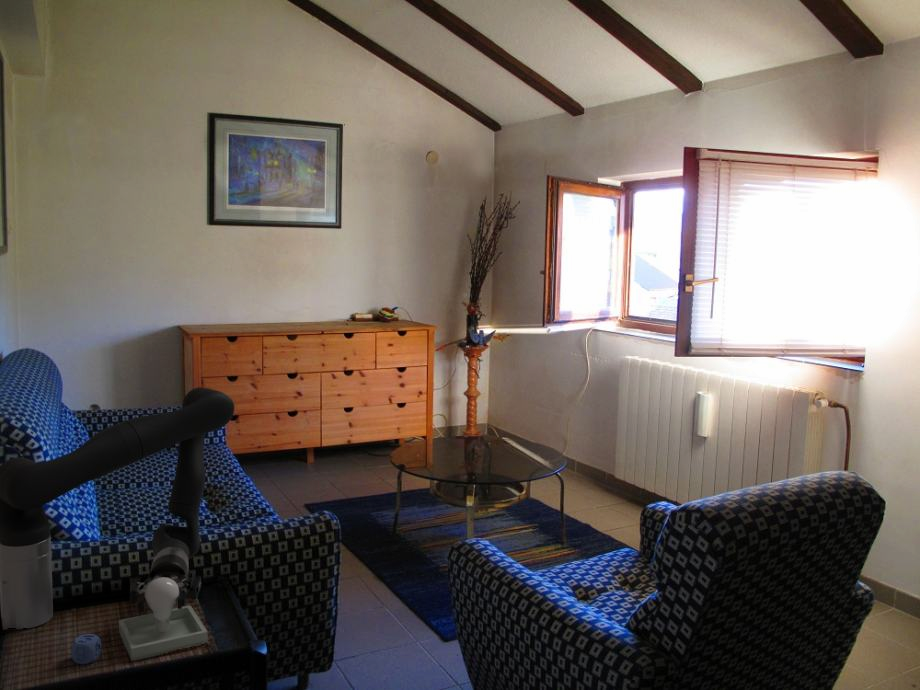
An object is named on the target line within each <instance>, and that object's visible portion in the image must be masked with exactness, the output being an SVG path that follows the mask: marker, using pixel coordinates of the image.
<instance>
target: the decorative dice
mask: <svg viewBox="0 0 920 690" xmlns="http://www.w3.org/2000/svg"><path fill="white" fill-rule="evenodd" d="M71 646H72V647H71V651H70V652H71V653H70V654H71V658H72V660H73V662H75V663H76V664H79V665H88V664H92V663H94V662H96V661H97V660H98V659H99V657H100V655H101V650H102V641H101V638H100V637H99V636H98V635H96V634H93V633H86V634H80V636H77V637H76V638H75V639H74V640H73V642H72V645H71Z"/></svg>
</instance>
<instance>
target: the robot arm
mask: <svg viewBox="0 0 920 690" xmlns="http://www.w3.org/2000/svg"><path fill="white" fill-rule="evenodd" d="M182 400H183V401H182V404H181V408H179V409H176V410H172V411H168V412H161V413H155V414H148V415H143V416H137V417H133V418H129V419H127V420H124V421H121V422H119V423H116V424H114V425H111V426H108V427H105V428H103V429H102V430H99V431H98V432H96V433H95V434H93V436H91V437H90V438H88V439H87V440H86V441H85V442H84V443H83V444H82V445H81V446H79V447H78V448H76V449H75V450H73V451H71V452H69V453H66V454H64V455H62V456H59V457H56V458H52V459H49V460H46V461H43V462H39V463H38V462H36V461H34V460H32V459H30V458H26V457H12V458H10V459H8V460H5V461H3V462H2V463H1V464H0V616H1V617H0V618H1V619H2V620H1V625H2V630H3V631H5V630H6V631H7V630H9V629H8V628H16V629H15V630H24V629H23V628H27V629H33V628H35V627H38V626H39V627H40V626H41V625H44V624H45V623H48V622H49V621H50V620H52V618H53V616H54V603H53V598H54V597H53V573H52V571H53V570H52V544H51V543H52V542H51V541H52V540H51V539H52V538H51V524H50V523H51V522H50V521H49V519H48V517H47V515H46V513H45V510H44V507H43V506H46V504H49V503H50V502H53V501H54V500H57V498H60V497H61V496H63V495H65V494H67V493H69V492H71V491H72V490H74V489H77V488H78V487H81V486H82V485H84V484H86V483H89V482H91V481H94V480H96V479H98V478H99V479H100V478H101V477H103V476H106V475H109V474H111V473H114V472H115V471H118V470H120V469H123V468H126V467H128V466H130V465H133V464H134V463H135V464H136V463H137V462H140V461H142V460H144V459H146V458H148V457H150V456H153V455H154V454H156V453H159V452H162V451H163V450H166V449H168V448H170V447H172V446H175V445H177V444H178V450H177V451H178V452H177V461H176V469H175V473H174V474H175V475H174V478H173V483H172V486H171V487H172V488H171V492H170V496H169V502H168V506H167V511H168V513H169V514H171V515H172V516H175V517H178V518H180V519H182V520H184V521H185V522H186V524H187V527H186V526H180V525H173V524H162V525H160V526H158V527H157V528H156V529H155V531H154V532H153V535H152V539H151V548H152V547H153V549H152V552H153V555H154V556H155V558H154V559H153V560H152V563H151V567H150V570H149V573H148V577H147V578H146V579H145V580H144V581H143V582H140V581H138V580H137V579H131V580H130V581H129V583H130V584H129V602H130V604H133V605H135V604H136V609H137V610H139V612H140V613H142V612H143V613H144V612H145V611H146V606H147V603H146V601H145V591H146V588H147V586H148V585H149V584H150V583H151V582H152V581H153V580H155V579H157V578H161V577H167V578H170V579H172V580H174V581H175V582H176V584H177V585H178V588H179V595H178V600H177V608H178V609H182V607H185V606H187V601H188V599H190V600H196V599H197V598H198V596H199V593H200V591H201V589H202V576H201V575H195V576H194V578H191V579H188V575H189V561H190V559H192V558H193V557H194V556H196V554H197V553H198V551H199V549H200V546H201V544H200V543H201V538H200V537H201V536H200V525H199V521H200V520H199V517H200V511H201V510H200V509H201V504H202V499H203V495H204V490H205V484H206V472H205V471H206V468H205V461H204V460H205V459H204V442H205V437H206V434H209V433H211V432H215V431H218V430H221V429H222V428H223V427H225V426H226V425H228V424H229V422H230V421H231V420H232V418H233V416H234V413H235V404H234V401H233V400H232V398H231V397H230V395H228V394H226V393H224V392H221V391H219V390H216V389H213V388H208V387H201V386H199V387H194V388H192V389H191V390H190V391H188V392H187V393H186V395H185V396H184V398H183V399H182ZM188 586H189V588H187V587H188Z"/></svg>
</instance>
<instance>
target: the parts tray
mask: <svg viewBox="0 0 920 690" xmlns="http://www.w3.org/2000/svg"><path fill="white" fill-rule="evenodd" d="M155 623H156V622H155V617H154V615H153V612H151V613H146V614H142V615H137V616H132V617H128V618H122V619H118V633H119V635H120V638H121V639H122V640H121V641H123V644H124V647H125V649H126V652H127V653H128V656H129V658H130V660H131V662H135V661H139V660H143V659H144V660H145V659H147V658H148V659H149V658H153V657H157V656H161V655H164V654H163V653H166V654H169V653H168V652H170V651H173V650H176V649H179V648H183V647H187V646H194V645H198V644H202V643H206V642H208V635H209V633H208V630H207V629H206V627H205V625H204V623H202V621H201V619H200V618H199V615H197V613H196V611H195V610H194V608H193V607H192V606H191V605H185V606H182V609H178V607H176V608H172V612H171V615H170V629H169V630H167V631H165V632H163V633H161V632H158V631H156V626H155V625H156V624H155ZM208 643H209V642H208ZM170 653H171V652H170ZM160 654H161V655H160ZM156 655H157V656H156Z"/></svg>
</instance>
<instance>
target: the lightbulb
mask: <svg viewBox="0 0 920 690" xmlns="http://www.w3.org/2000/svg"><path fill="white" fill-rule="evenodd" d="M178 595H179V588H178V585H177V584H176V582H175V581H174V580H172V579H170V578H167V577H161V578H157V579H155V580H153V581H152V582H151V583H150V584H149V585H148V586H147V588H146V591H145V601H146V606H148V608H150V609H151V610H150V611H152V613H153V615H154V617H155V622H156V623H155V624H156V625H155V626H156V631H158V632H161V633H163V632H165V631H167V630H169V629H170V615H171V612H172V609H174V607H175V605H176V604H177V603H178Z"/></svg>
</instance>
